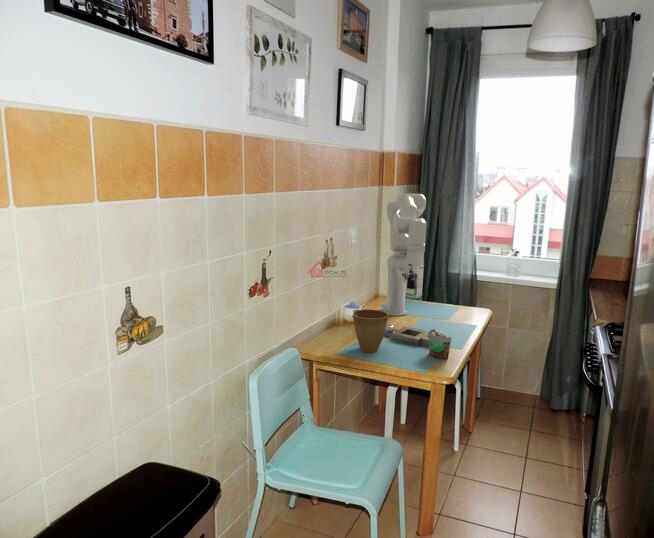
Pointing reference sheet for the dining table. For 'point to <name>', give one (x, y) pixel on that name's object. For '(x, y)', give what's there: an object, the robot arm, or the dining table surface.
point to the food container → (438, 345)
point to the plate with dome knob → (390, 330)
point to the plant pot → (370, 328)
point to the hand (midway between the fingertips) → (413, 286)
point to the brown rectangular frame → (419, 338)
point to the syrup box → (416, 284)
